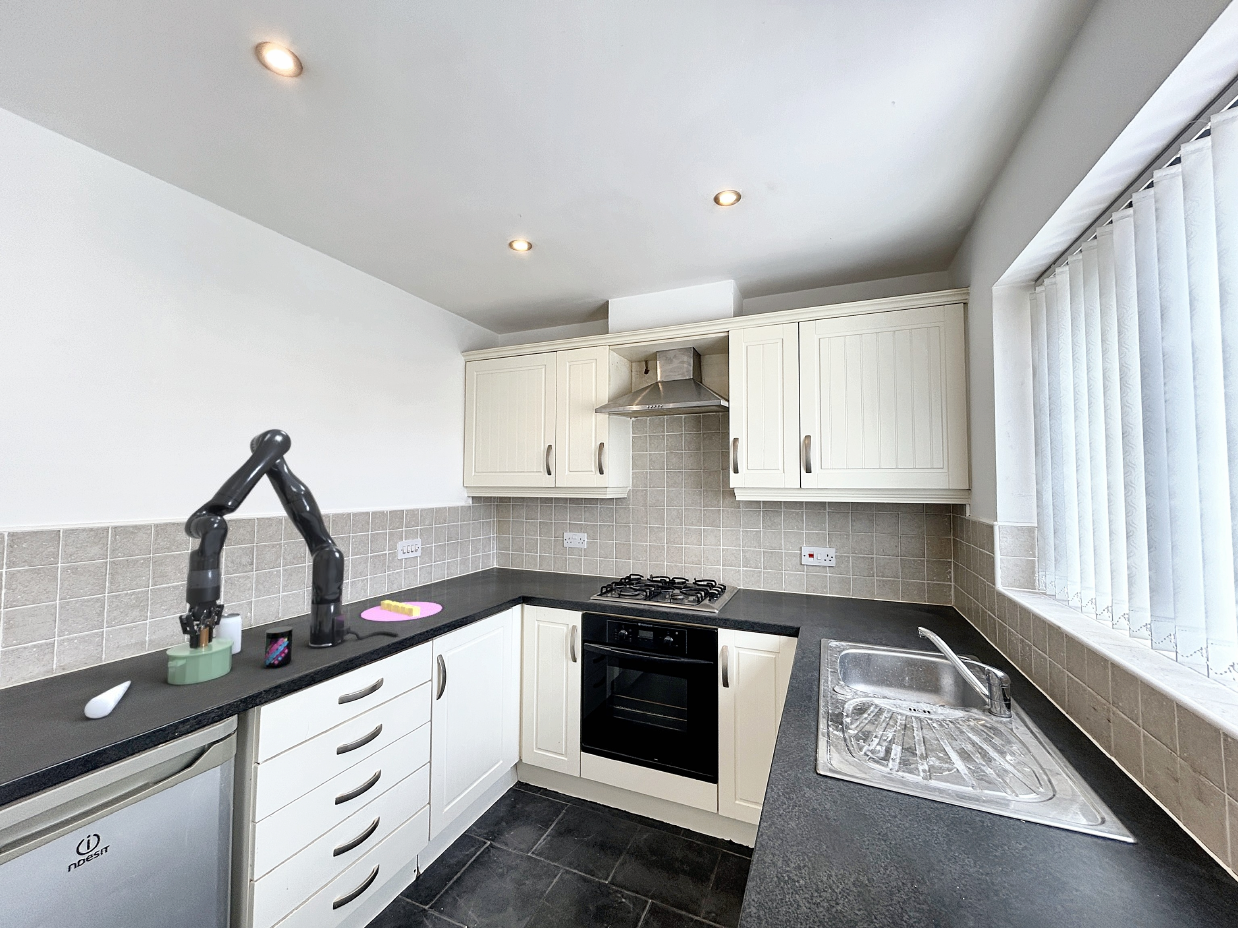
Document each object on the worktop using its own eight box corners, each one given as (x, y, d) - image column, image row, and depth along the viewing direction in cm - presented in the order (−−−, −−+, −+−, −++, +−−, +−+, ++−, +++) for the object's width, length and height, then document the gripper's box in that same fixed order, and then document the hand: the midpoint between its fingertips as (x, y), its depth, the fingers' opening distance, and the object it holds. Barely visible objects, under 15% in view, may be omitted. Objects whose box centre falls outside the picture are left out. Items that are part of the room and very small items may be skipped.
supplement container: (258, 667, 144) (259, 631, 144) (280, 659, 150) (281, 625, 151) (275, 669, 142) (277, 633, 143) (296, 661, 149) (298, 627, 149)
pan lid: (245, 641, 146) (246, 620, 146) (208, 658, 132) (209, 635, 132) (194, 642, 145) (195, 621, 145) (150, 659, 131) (152, 636, 131)
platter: (389, 625, 187) (390, 616, 187) (344, 613, 204) (345, 605, 204) (457, 608, 214) (458, 600, 214) (413, 598, 231) (413, 591, 231)
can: (226, 657, 152) (227, 618, 152) (209, 655, 153) (210, 617, 154) (245, 650, 158) (247, 613, 159) (229, 649, 159) (230, 612, 160)
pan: (248, 662, 148) (249, 637, 148) (198, 688, 129) (200, 659, 129) (200, 663, 147) (202, 637, 147) (144, 689, 128) (145, 660, 128)
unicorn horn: (148, 680, 134) (149, 662, 134) (111, 717, 113) (112, 696, 113) (125, 683, 131) (126, 665, 132) (82, 721, 111) (83, 700, 111)
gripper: (198, 589, 132) (195, 653, 132) (235, 579, 147) (233, 637, 146) (168, 589, 132) (165, 654, 131) (209, 579, 146) (206, 637, 145)
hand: (201, 644), depth 138 cm, fingers open, 4 cm apart
